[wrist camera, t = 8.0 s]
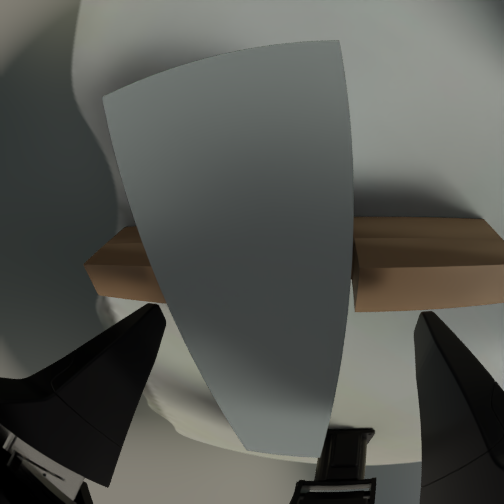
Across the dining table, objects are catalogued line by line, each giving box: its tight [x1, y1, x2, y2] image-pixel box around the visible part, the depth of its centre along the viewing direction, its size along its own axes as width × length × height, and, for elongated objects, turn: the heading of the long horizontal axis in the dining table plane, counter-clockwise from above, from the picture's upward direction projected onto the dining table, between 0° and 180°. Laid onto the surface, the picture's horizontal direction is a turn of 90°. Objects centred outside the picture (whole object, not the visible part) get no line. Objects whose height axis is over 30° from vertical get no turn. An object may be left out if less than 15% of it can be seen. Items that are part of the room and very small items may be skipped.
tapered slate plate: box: [102, 40, 354, 458], centre depth 10 cm, size 14×4×8 cm, turn 9°
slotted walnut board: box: [84, 217, 504, 312], centre depth 11 cm, size 2×20×4 cm, turn 99°
